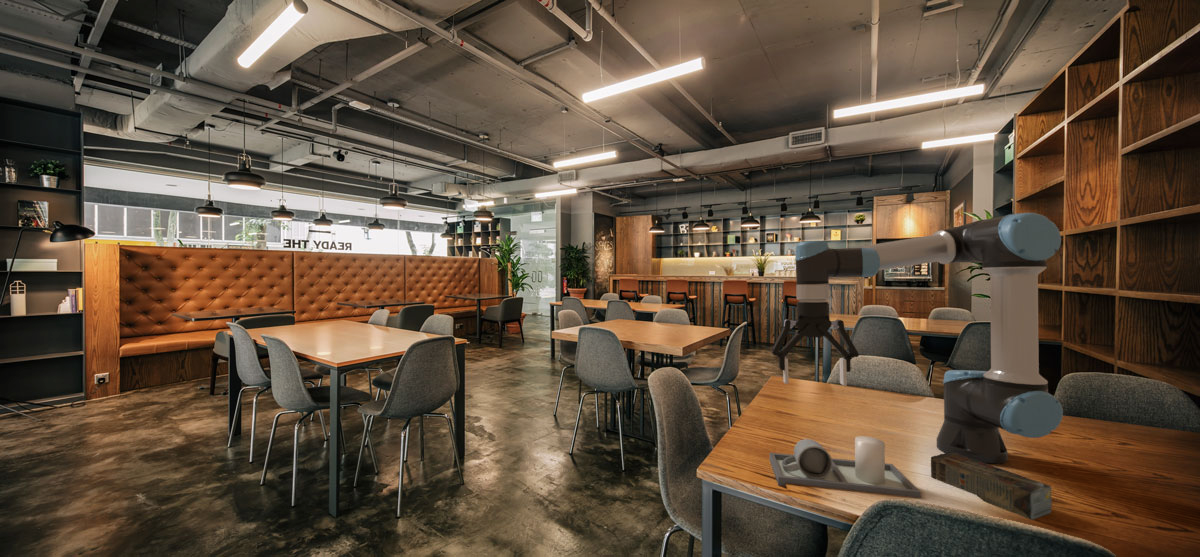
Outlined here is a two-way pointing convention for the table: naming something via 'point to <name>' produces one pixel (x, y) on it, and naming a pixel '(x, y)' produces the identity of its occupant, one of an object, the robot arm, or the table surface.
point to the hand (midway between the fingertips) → (814, 383)
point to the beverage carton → (993, 485)
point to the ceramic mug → (809, 460)
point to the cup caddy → (845, 478)
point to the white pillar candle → (870, 460)
